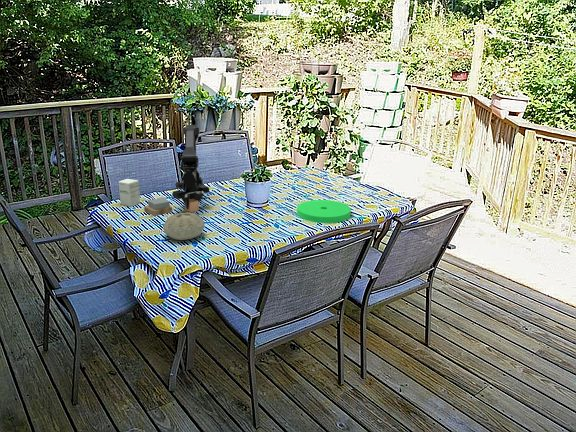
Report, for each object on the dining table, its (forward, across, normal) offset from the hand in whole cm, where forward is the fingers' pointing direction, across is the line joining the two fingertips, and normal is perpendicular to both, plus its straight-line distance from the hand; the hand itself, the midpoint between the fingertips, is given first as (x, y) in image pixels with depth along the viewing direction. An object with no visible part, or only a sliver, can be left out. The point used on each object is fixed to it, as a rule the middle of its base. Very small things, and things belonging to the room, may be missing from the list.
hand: (191, 207), depth 256 cm
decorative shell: (+1, +22, +28) cm, 36 cm away
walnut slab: (+2, +14, -9) cm, 17 cm away
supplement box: (+1, +19, -29) cm, 35 cm away
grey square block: (-1, +14, -9) cm, 16 cm away
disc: (+2, -47, +48) cm, 67 cm away
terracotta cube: (+1, 0, 0) cm, 1 cm away
